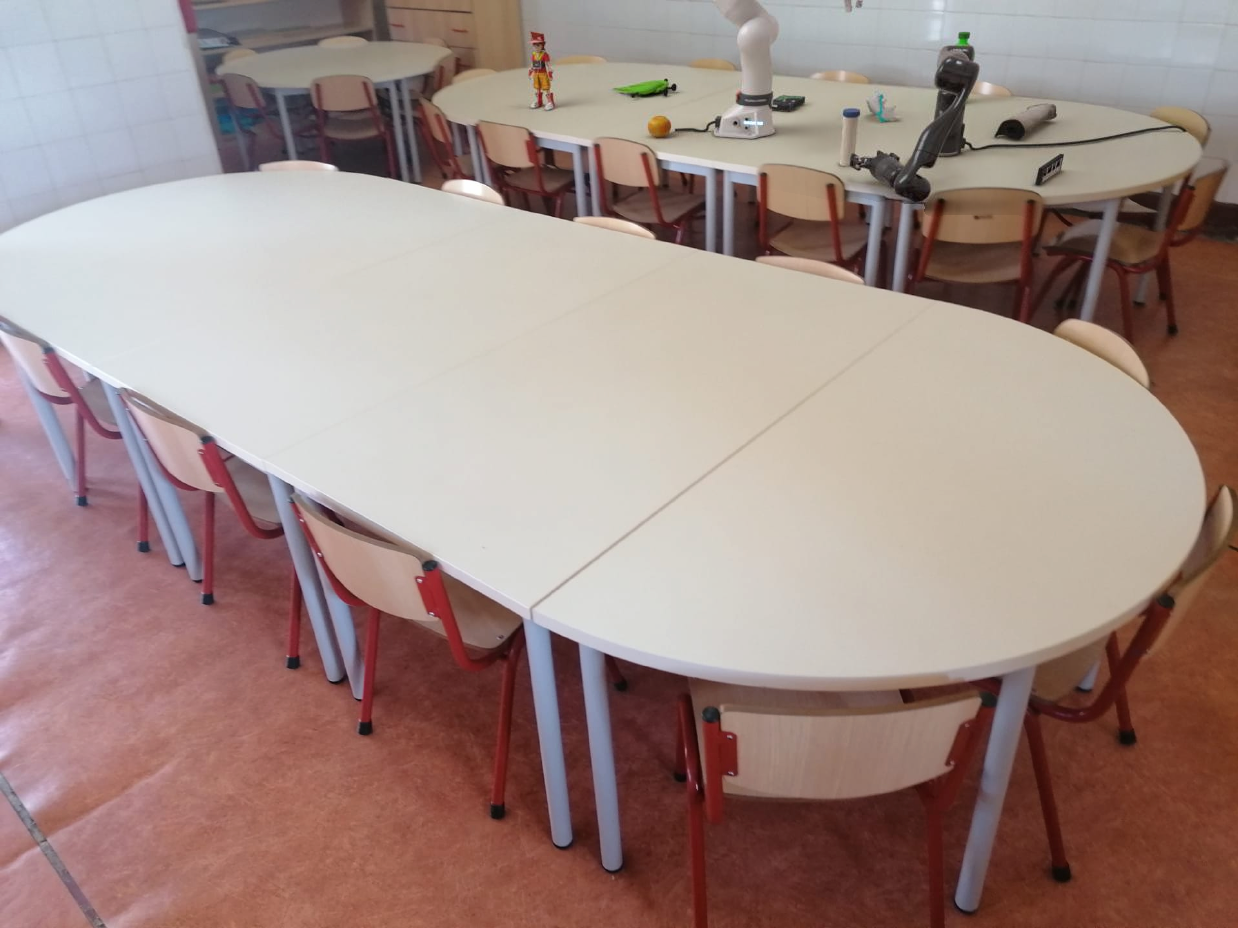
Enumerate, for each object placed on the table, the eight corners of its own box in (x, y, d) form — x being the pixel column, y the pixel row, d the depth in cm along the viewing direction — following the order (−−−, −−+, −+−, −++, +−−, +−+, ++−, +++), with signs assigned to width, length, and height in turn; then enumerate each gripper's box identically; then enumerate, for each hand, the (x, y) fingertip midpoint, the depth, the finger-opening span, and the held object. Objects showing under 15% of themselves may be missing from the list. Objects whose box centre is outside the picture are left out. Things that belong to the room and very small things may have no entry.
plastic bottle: (973, 101, 354) (984, 32, 339) (955, 106, 349) (966, 36, 335) (952, 97, 361) (962, 29, 346) (934, 102, 356) (944, 33, 342)
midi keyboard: (1039, 185, 269) (1043, 168, 266) (1035, 184, 270) (1038, 168, 267) (1060, 170, 279) (1064, 154, 277) (1056, 169, 280) (1060, 153, 277)
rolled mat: (1024, 108, 329) (1048, 91, 321) (1038, 129, 330) (1062, 112, 321) (990, 131, 312) (1014, 113, 304) (1004, 153, 312) (1029, 136, 304)
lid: (850, 118, 285) (850, 113, 284) (839, 115, 289) (839, 110, 288) (863, 115, 287) (863, 110, 286) (852, 112, 291) (852, 107, 290)
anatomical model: (861, 90, 342) (887, 83, 342) (863, 118, 348) (889, 111, 348) (873, 100, 330) (900, 92, 329) (875, 128, 336) (902, 121, 335)
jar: (845, 167, 294) (850, 114, 285) (836, 163, 298) (841, 111, 288) (856, 164, 296) (862, 112, 286) (847, 161, 299) (852, 109, 290)
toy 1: (525, 109, 381) (517, 32, 364) (534, 104, 388) (527, 28, 371) (550, 110, 377) (543, 32, 360) (559, 105, 384) (553, 28, 367)
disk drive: (790, 112, 355) (805, 103, 365) (791, 105, 353) (805, 96, 363) (766, 110, 360) (781, 101, 370) (766, 103, 358) (781, 94, 368)
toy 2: (686, 85, 398) (631, 84, 414) (685, 72, 395) (629, 72, 411) (651, 104, 381) (596, 103, 397) (650, 92, 378) (594, 91, 394)
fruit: (641, 128, 333) (652, 109, 330) (648, 131, 340) (659, 112, 337) (658, 141, 331) (670, 121, 328) (665, 143, 339) (677, 124, 336)
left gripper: (859, -42, 295) (855, 4, 303) (836, -34, 281) (832, 14, 289) (878, -42, 292) (873, 5, 300) (855, -34, 278) (851, 15, 286)
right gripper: (911, 155, 269) (887, 140, 282) (866, 160, 267) (844, 145, 280) (907, 179, 273) (884, 164, 286) (863, 185, 271) (842, 169, 284)
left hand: (853, 10), depth 294 cm, fingers open, 8 cm apart
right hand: (864, 155), depth 283 cm, fingers open, 8 cm apart
